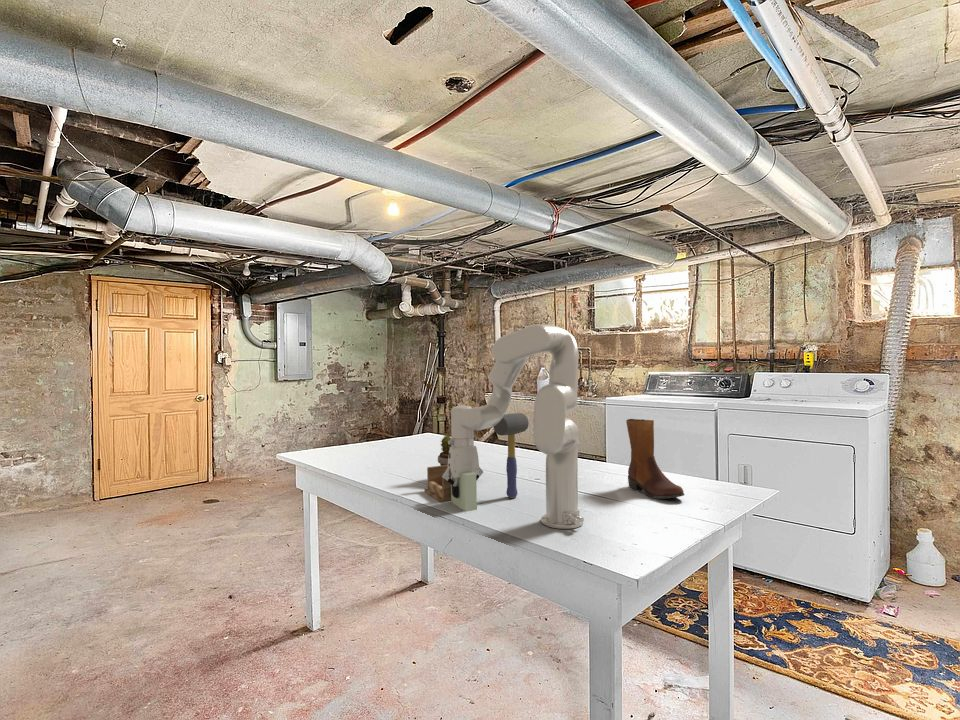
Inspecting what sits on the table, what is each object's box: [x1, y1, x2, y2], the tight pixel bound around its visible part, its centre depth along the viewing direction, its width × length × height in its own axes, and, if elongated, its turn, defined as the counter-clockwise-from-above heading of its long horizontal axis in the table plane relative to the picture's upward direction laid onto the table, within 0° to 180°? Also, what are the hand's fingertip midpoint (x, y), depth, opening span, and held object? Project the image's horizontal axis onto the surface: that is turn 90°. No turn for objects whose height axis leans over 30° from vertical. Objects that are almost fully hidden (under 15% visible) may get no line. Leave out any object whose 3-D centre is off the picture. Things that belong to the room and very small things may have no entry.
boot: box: [625, 418, 685, 500], centre depth 182 cm, size 25×9×27 cm, turn 17°
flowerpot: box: [437, 432, 452, 466], centre depth 203 cm, size 14×15×20 cm
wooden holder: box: [424, 465, 451, 503], centre depth 184 cm, size 16×11×9 cm
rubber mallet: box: [492, 412, 530, 499], centre depth 179 cm, size 12×8×30 cm, turn 135°
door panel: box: [450, 472, 478, 512], centre depth 171 cm, size 12×4×12 cm, turn 27°
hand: (463, 495), depth 171 cm, fingers open, 5 cm apart
